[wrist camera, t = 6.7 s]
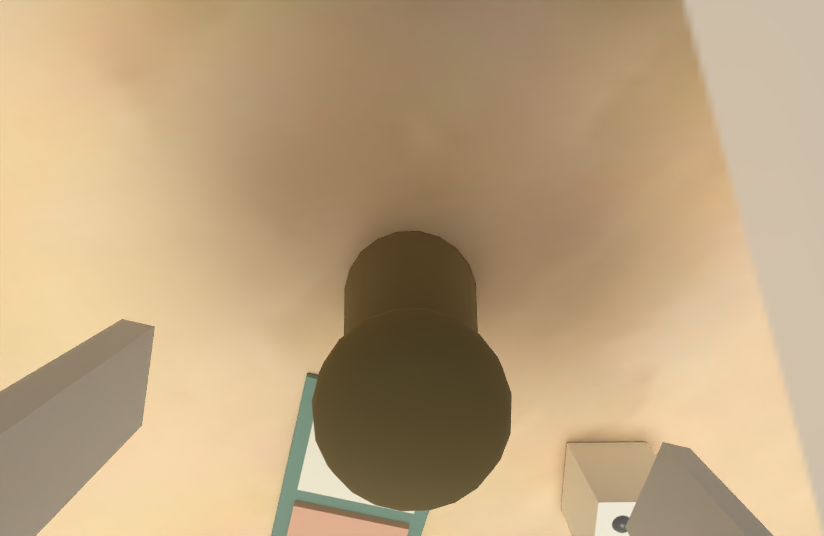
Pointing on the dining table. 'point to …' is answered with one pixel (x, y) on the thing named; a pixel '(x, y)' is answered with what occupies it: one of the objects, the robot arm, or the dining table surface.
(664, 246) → the dining table surface
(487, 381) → the brown game pawn
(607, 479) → the die
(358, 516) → the track
